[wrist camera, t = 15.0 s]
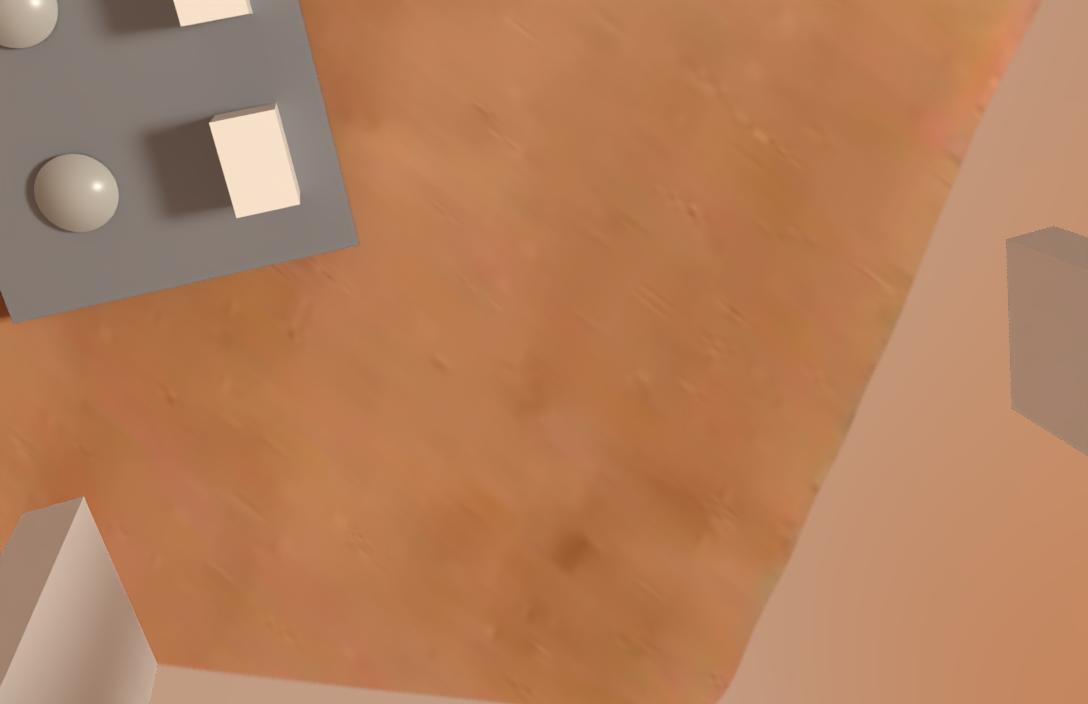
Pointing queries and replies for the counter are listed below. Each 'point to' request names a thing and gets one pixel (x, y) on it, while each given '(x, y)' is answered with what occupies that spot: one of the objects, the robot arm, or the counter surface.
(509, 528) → the counter surface
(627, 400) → the counter surface
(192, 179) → the game board
